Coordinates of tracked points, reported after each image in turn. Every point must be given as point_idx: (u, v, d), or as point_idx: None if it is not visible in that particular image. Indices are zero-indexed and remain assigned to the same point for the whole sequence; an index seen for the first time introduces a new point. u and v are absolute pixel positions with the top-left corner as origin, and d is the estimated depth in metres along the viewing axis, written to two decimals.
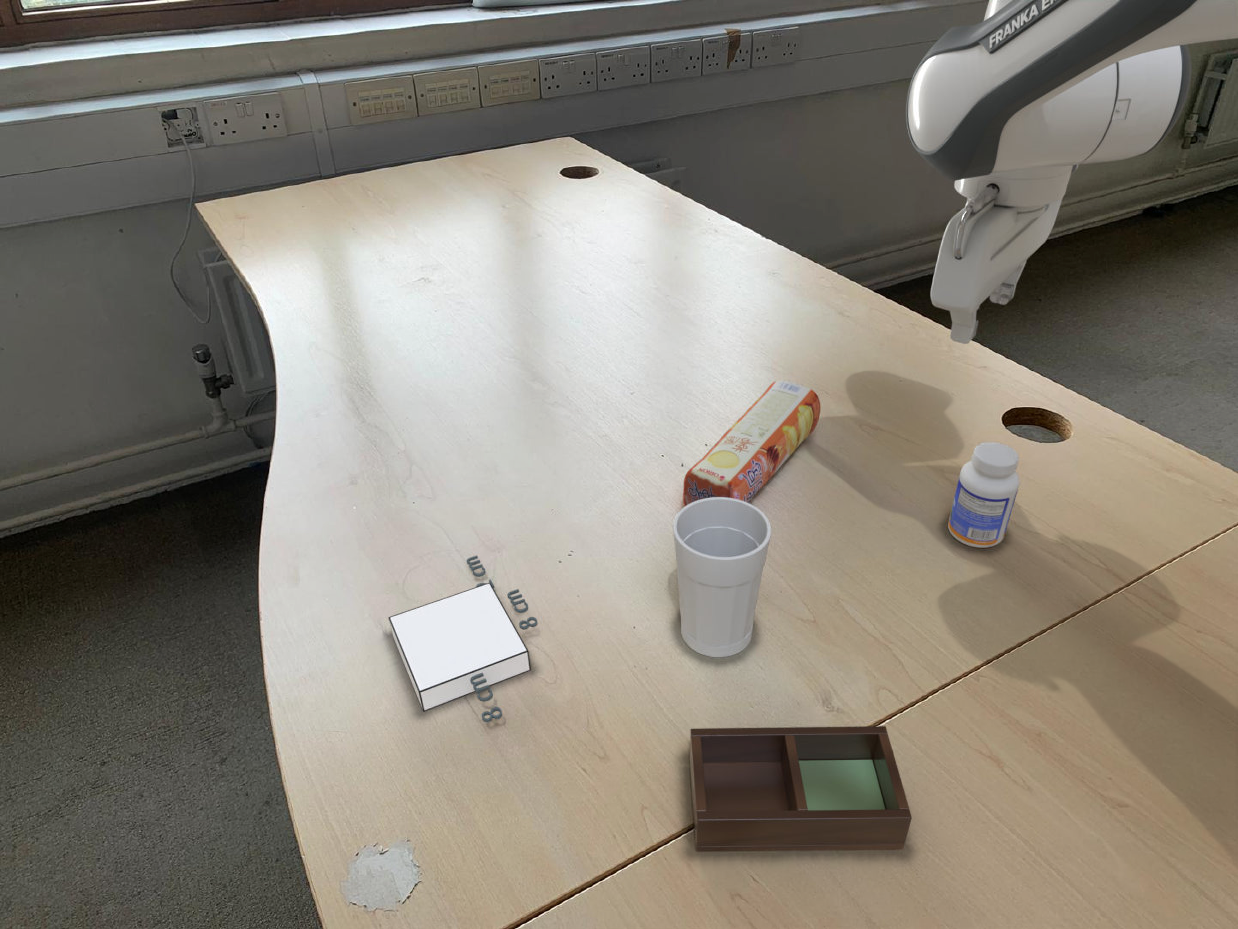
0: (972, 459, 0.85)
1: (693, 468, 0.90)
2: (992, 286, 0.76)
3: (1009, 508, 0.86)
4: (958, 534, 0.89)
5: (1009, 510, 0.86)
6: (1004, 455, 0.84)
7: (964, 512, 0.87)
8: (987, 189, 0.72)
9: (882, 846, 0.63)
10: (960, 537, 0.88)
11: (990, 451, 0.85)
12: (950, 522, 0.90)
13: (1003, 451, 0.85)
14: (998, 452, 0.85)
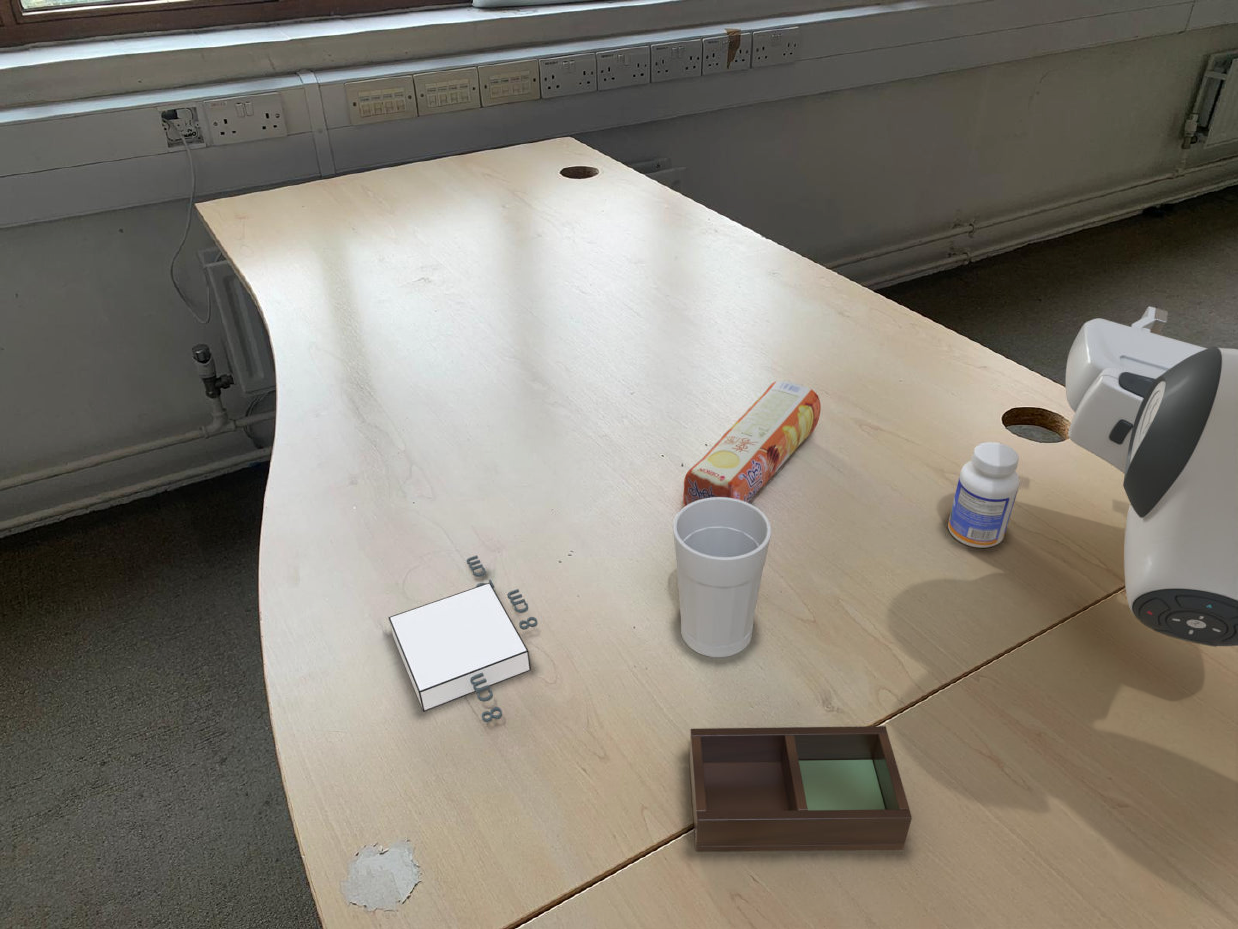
0: (972, 459, 0.85)
1: (693, 468, 0.90)
2: None
3: (1009, 508, 0.86)
4: (958, 534, 0.89)
5: (1009, 510, 0.86)
6: (1004, 455, 0.84)
7: (964, 512, 0.87)
8: None
9: (882, 846, 0.63)
10: (960, 537, 0.88)
11: (991, 451, 0.85)
12: (950, 522, 0.90)
13: (1003, 451, 0.85)
14: (998, 452, 0.85)
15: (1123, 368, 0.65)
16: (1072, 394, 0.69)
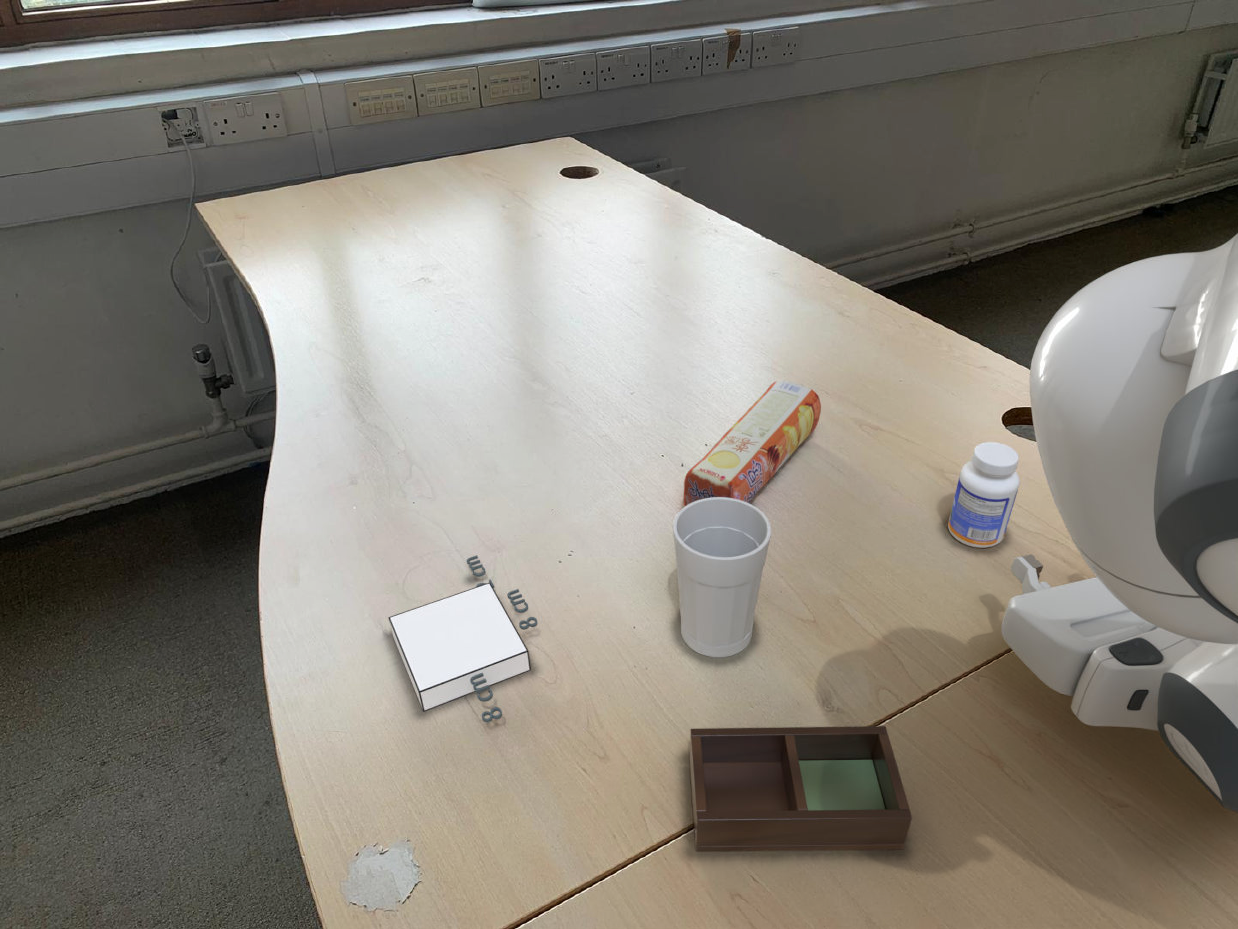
0: (972, 459, 0.85)
1: (693, 468, 0.90)
2: None
3: (1009, 508, 0.86)
4: (958, 534, 0.89)
5: (1009, 510, 0.86)
6: (1004, 455, 0.84)
7: (964, 512, 0.87)
8: None
9: (882, 846, 0.63)
10: (960, 537, 0.88)
11: (990, 451, 0.85)
12: (950, 522, 0.90)
13: (1003, 451, 0.85)
14: (998, 452, 0.85)
15: (1097, 641, 0.65)
16: (1055, 681, 0.67)
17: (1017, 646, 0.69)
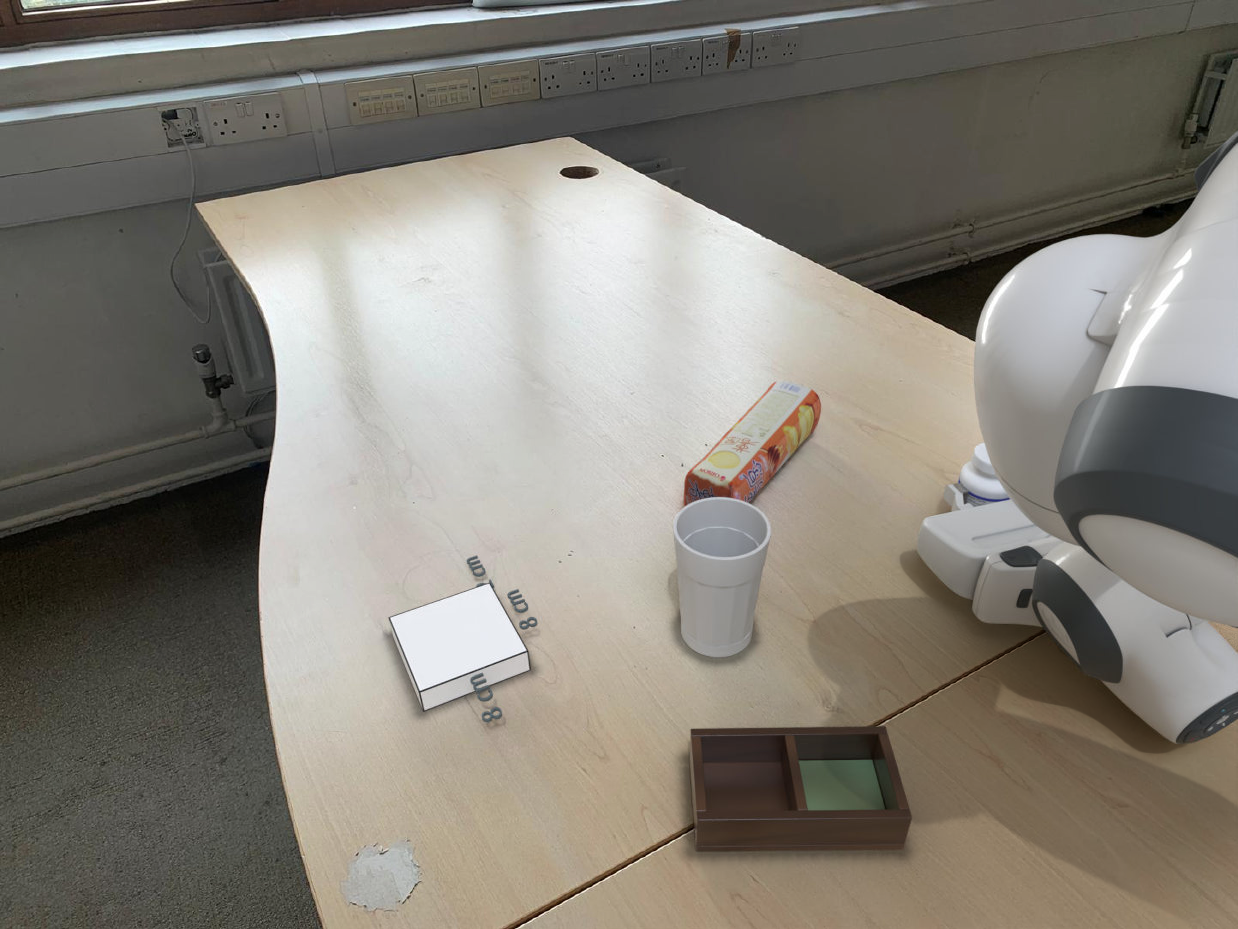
0: (972, 459, 0.85)
1: (694, 468, 0.90)
2: None
3: None
4: None
5: None
6: None
7: None
8: None
9: (882, 846, 0.63)
10: None
11: None
12: None
13: None
14: None
15: (992, 549, 0.76)
16: (958, 586, 0.78)
17: (929, 559, 0.80)
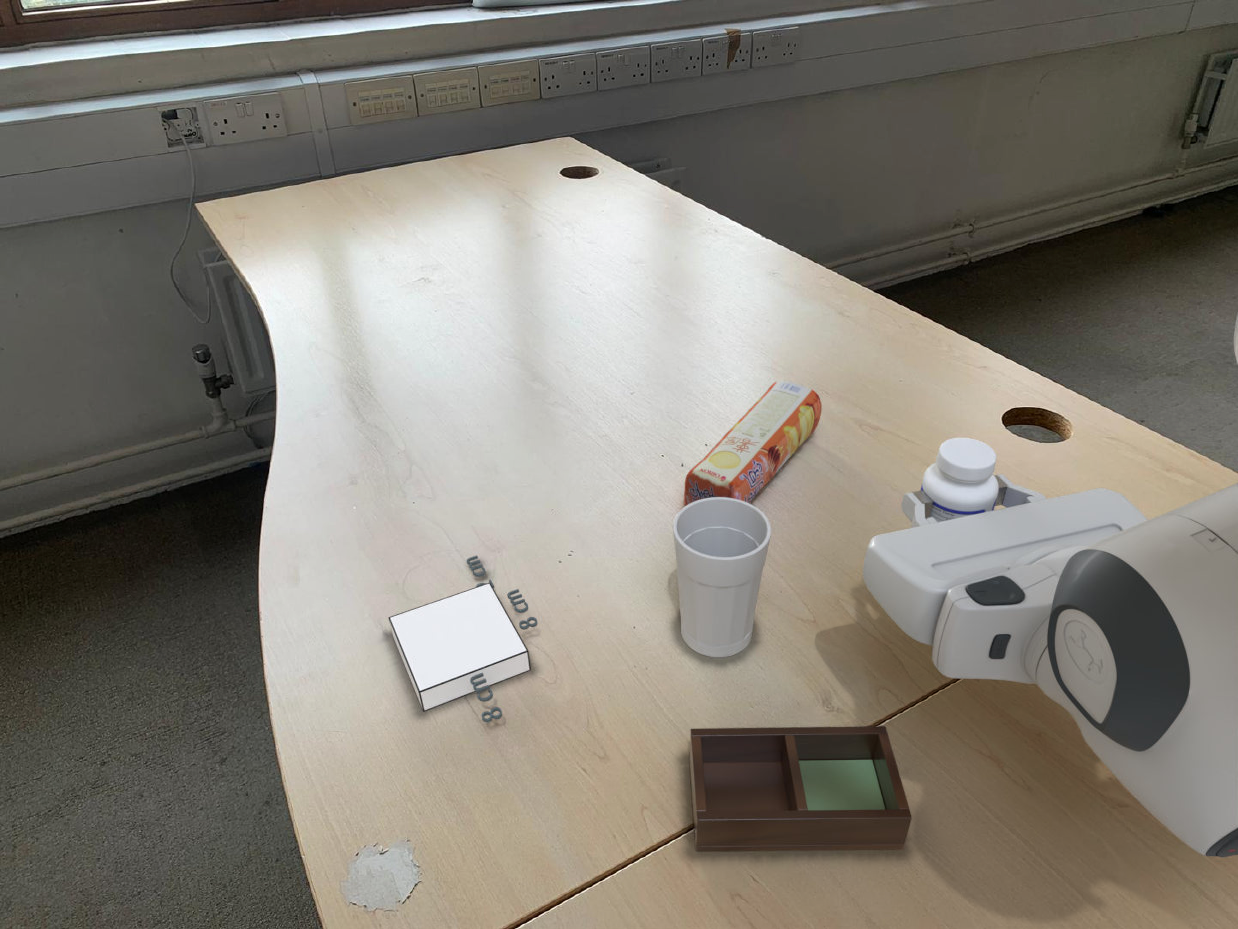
0: (937, 460, 0.66)
1: (694, 468, 0.90)
2: (1065, 503, 0.64)
3: None
4: None
5: None
6: (978, 454, 0.65)
7: None
8: None
9: (882, 846, 0.63)
10: None
11: (960, 449, 0.66)
12: None
13: (977, 450, 0.66)
14: (970, 450, 0.65)
15: (956, 581, 0.57)
16: (913, 628, 0.59)
17: (877, 591, 0.61)
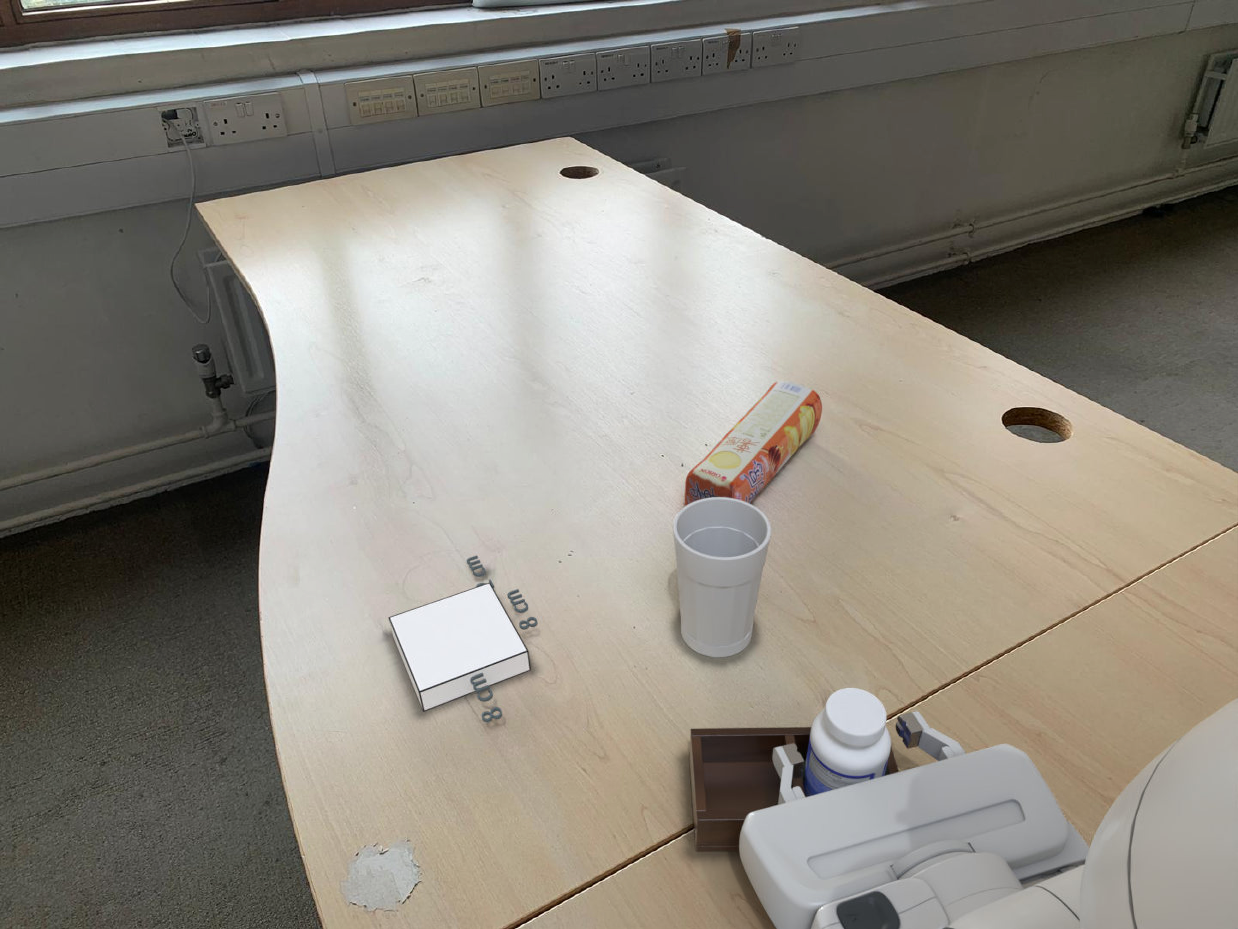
0: (824, 715, 0.60)
1: (695, 469, 0.90)
2: (964, 767, 0.58)
3: None
4: None
5: None
6: (867, 714, 0.59)
7: (816, 783, 0.62)
8: None
9: None
10: None
11: (849, 705, 0.60)
12: (803, 785, 0.65)
13: (866, 707, 0.60)
14: (859, 708, 0.60)
15: (829, 892, 0.51)
16: None
17: (751, 877, 0.56)
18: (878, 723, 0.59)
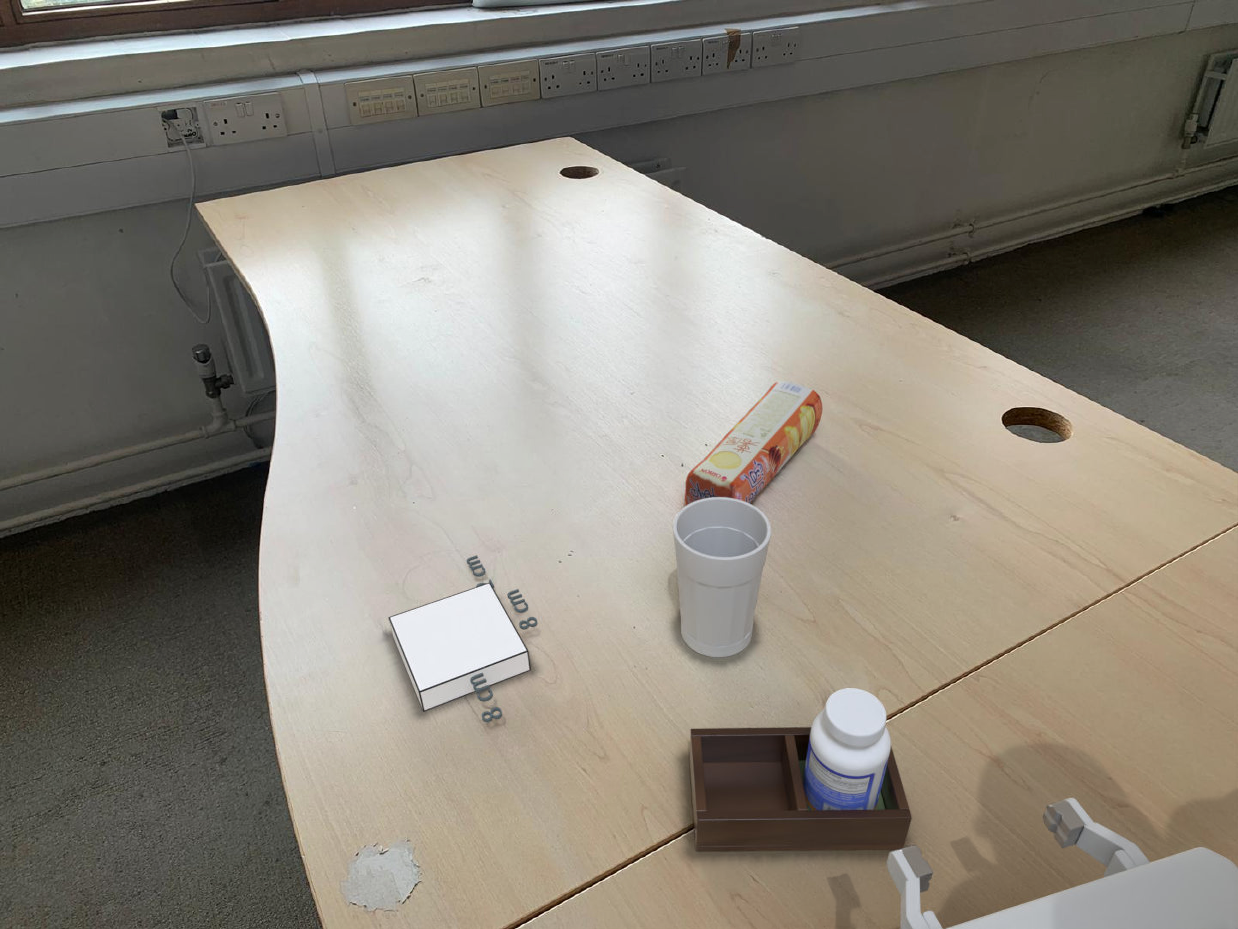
0: (823, 716, 0.60)
1: (695, 469, 0.90)
2: (1153, 884, 0.44)
3: (877, 782, 0.61)
4: (812, 806, 0.64)
5: (877, 784, 0.61)
6: (867, 714, 0.59)
7: (816, 783, 0.62)
8: None
9: (882, 846, 0.63)
10: None
11: (848, 706, 0.60)
12: (803, 785, 0.65)
13: (866, 708, 0.60)
14: (859, 708, 0.60)
15: None
16: None
17: None
18: (878, 723, 0.59)
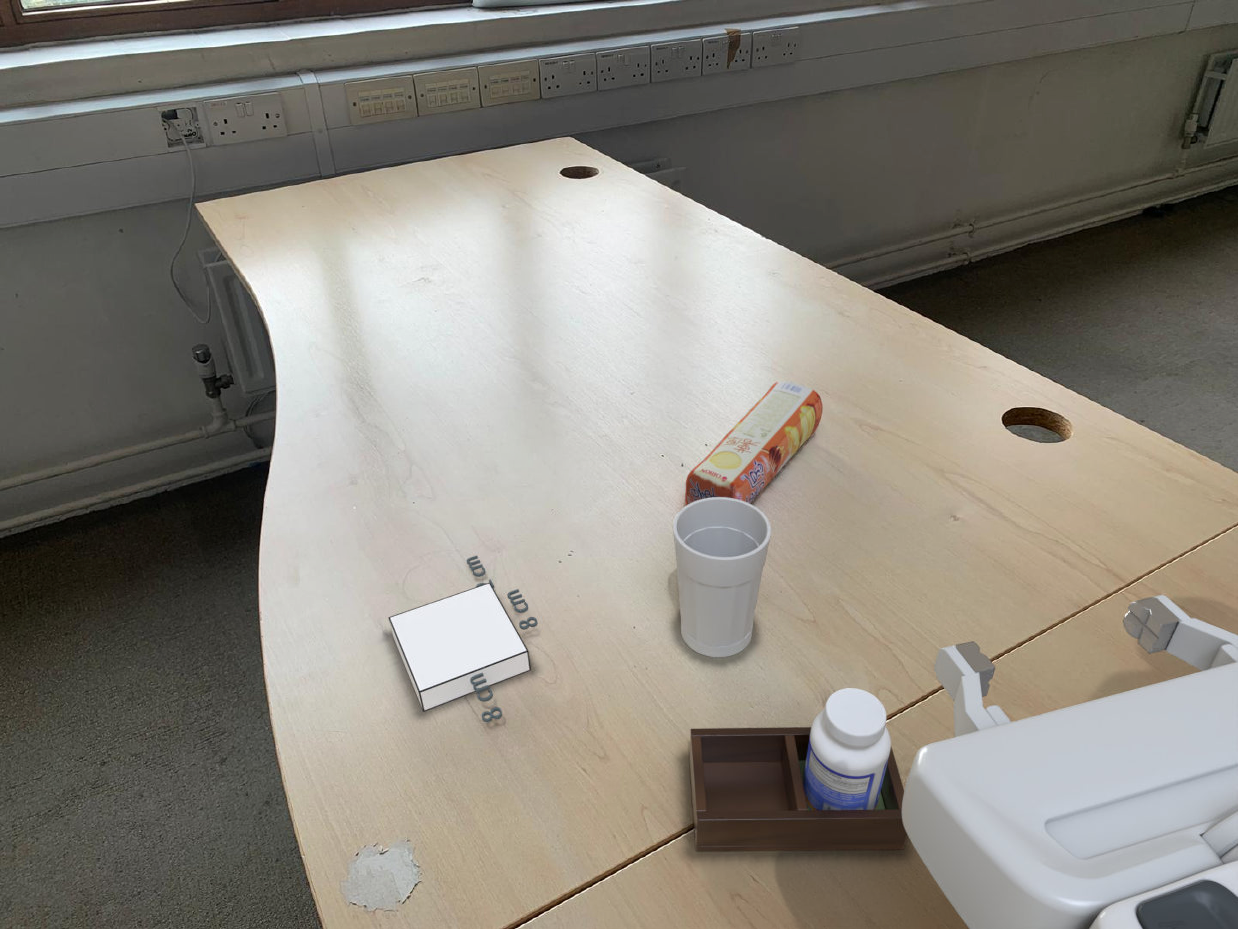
0: (823, 716, 0.60)
1: (695, 469, 0.90)
2: None
3: (877, 782, 0.61)
4: (812, 806, 0.64)
5: (877, 784, 0.61)
6: (867, 714, 0.59)
7: (816, 783, 0.62)
8: None
9: (882, 846, 0.63)
10: None
11: (848, 706, 0.60)
12: (803, 785, 0.65)
13: (866, 708, 0.60)
14: (859, 709, 0.60)
15: (1108, 882, 0.27)
16: None
17: (931, 858, 0.32)
18: (878, 723, 0.59)
